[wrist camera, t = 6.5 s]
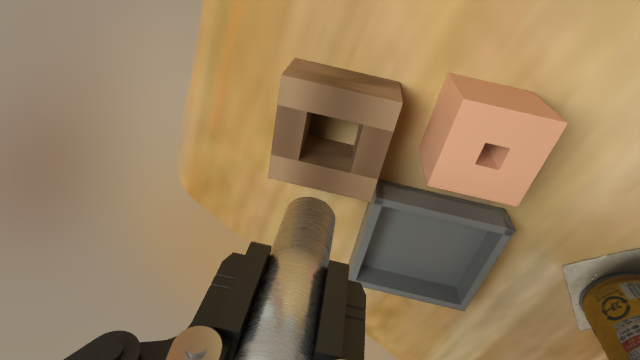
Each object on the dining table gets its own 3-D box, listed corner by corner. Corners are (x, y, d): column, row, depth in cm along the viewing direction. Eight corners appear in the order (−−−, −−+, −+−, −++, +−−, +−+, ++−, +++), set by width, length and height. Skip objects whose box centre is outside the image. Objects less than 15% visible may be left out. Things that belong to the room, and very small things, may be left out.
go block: (399, 82, 24) (403, 102, 20) (371, 171, 28) (370, 202, 24) (295, 58, 24) (281, 74, 21) (281, 150, 28) (267, 177, 24)
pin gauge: (340, 203, 15) (294, 514, 7) (329, 242, 16) (279, 547, 8) (288, 191, 15) (179, 486, 7) (281, 231, 16) (180, 524, 8)
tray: (505, 209, 28) (515, 230, 26) (458, 288, 32) (464, 311, 30) (376, 178, 28) (376, 197, 26) (349, 262, 33) (347, 283, 31)
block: (533, 92, 23) (568, 122, 19) (494, 166, 26) (517, 206, 22) (447, 72, 23) (463, 98, 19) (419, 148, 26) (427, 185, 22)
